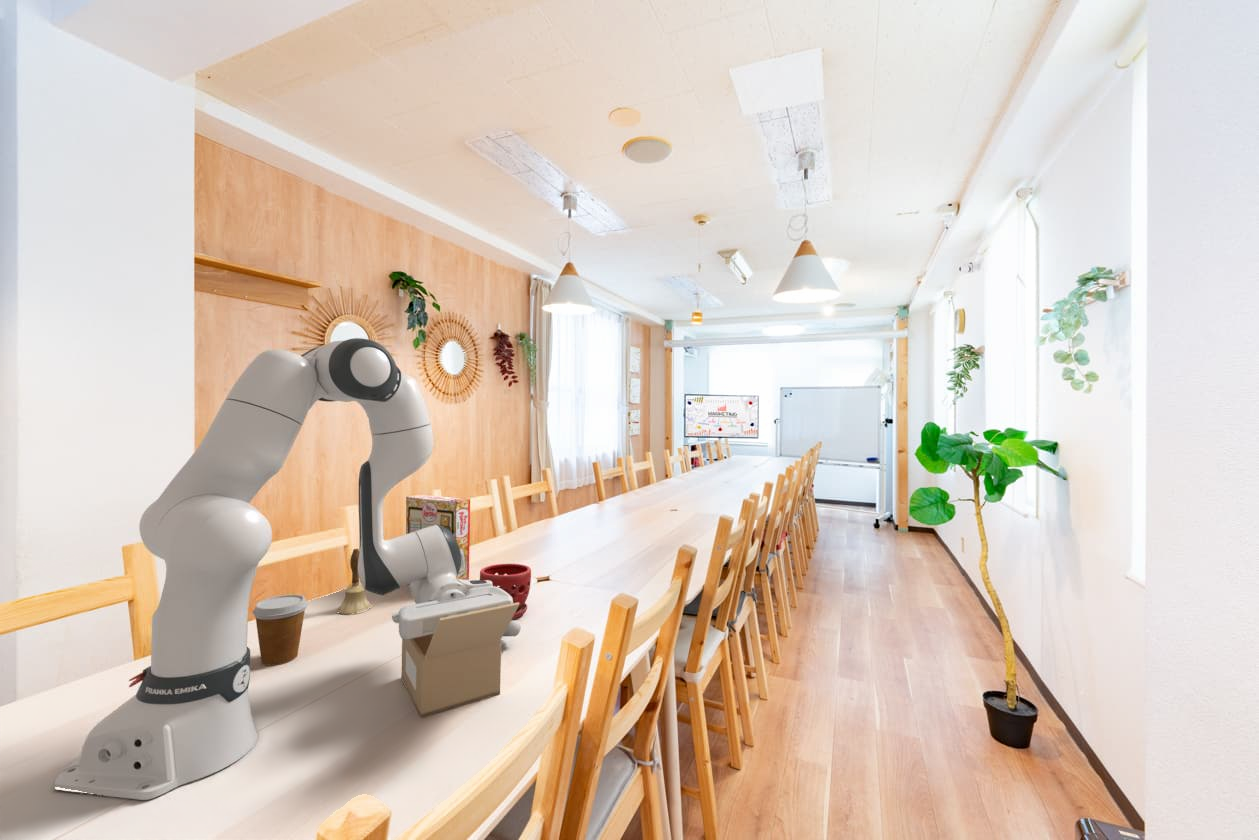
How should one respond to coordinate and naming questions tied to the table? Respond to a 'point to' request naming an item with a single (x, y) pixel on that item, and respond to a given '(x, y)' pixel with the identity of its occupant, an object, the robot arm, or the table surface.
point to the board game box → (442, 521)
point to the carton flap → (470, 630)
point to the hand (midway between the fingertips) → (470, 627)
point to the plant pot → (510, 582)
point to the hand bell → (354, 591)
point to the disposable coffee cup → (279, 627)
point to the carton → (449, 675)
